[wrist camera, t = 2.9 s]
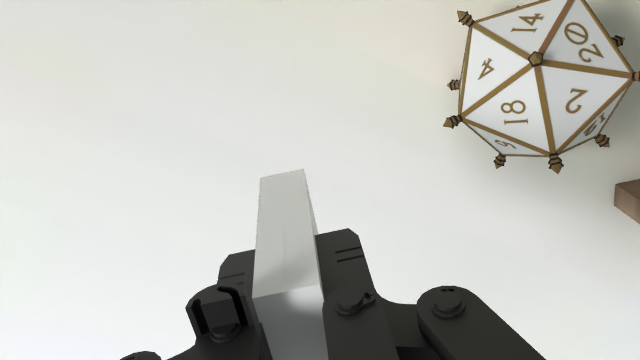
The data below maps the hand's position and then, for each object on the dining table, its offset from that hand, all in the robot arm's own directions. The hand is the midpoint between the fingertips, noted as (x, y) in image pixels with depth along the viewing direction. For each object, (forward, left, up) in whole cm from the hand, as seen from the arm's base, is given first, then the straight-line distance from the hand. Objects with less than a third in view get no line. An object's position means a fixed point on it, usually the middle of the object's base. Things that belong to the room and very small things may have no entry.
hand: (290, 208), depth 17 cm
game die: (0, +12, -11) cm, 16 cm away
